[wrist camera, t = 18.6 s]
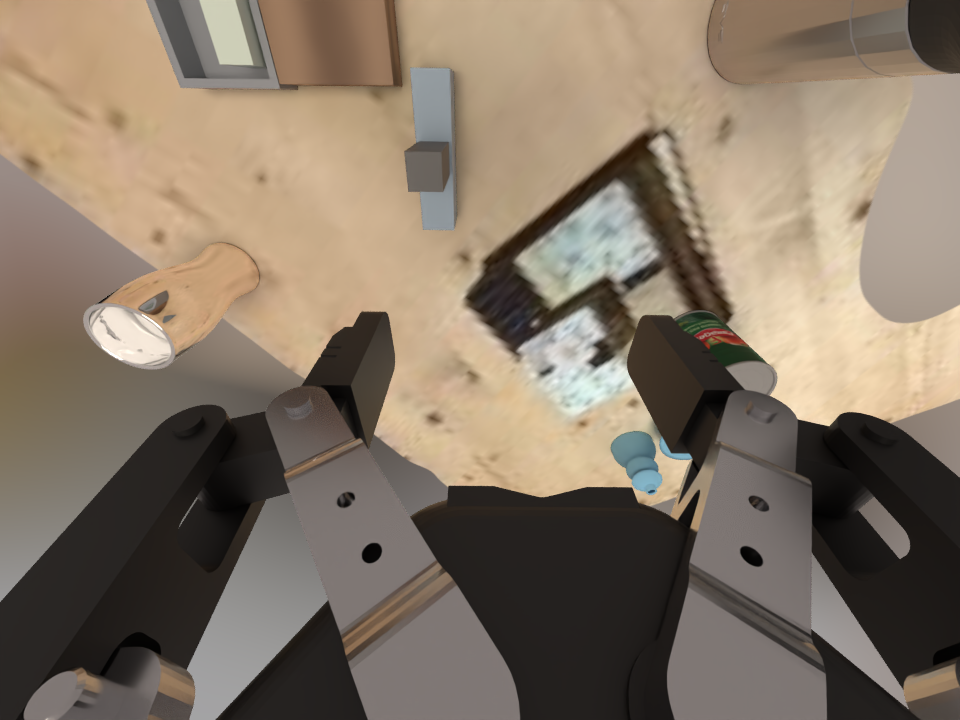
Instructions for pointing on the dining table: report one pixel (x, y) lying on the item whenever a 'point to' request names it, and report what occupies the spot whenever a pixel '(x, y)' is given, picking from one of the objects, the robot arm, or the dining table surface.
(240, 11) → the tile
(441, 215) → the scraper
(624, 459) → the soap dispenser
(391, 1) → the brown wooden block
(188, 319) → the beer glass
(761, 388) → the canned tomato
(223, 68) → the box
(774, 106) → the dining table surface
